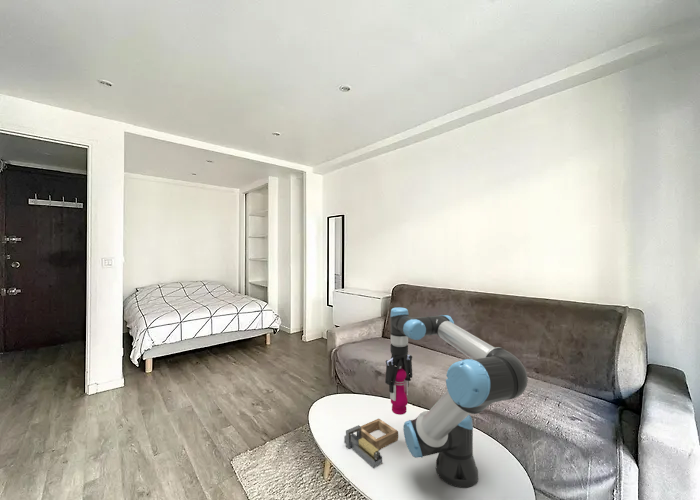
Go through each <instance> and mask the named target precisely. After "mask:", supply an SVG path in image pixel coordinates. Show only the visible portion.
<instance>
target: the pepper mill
mask: <svg viewBox="0 0 700 500" xmlns="http://www.w3.org/2000/svg"><path fill="white" fill-rule="evenodd" d="M405 378H406V372H405V370H404V369H402V368H401V366H400V367H399V369H398V371H397V375H396V380H395V384H394V385H396V401H393V400H392V399H390V404H391V411H392V413H393V414H395V415H397V416H398V415H399V416H400V415H401V416H402V415H405V414H406V413H407V405H408V400H409V399H408V396H406V394H405V391H404V384H405Z"/></svg>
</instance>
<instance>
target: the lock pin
mask: <svg viewBox="0 0 700 500" xmlns="http://www.w3.org/2000/svg"><path fill="white" fill-rule="evenodd" d="M359 447H360V448H361V449H362V450H363V451H365V452H366V453H367V454H368V455H369V456H371V457H372V458H373V459H374V460H375V459H376V460H378V459H379V458H380V455H381V452H380V451H379V450H378V449H377V448H376V447H374V446H373V445H372V444H370V443H369V442H368V441H367V440H365V439H364V438H361V439H359Z"/></svg>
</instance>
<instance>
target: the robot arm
mask: <svg viewBox="0 0 700 500" xmlns="http://www.w3.org/2000/svg"><path fill="white" fill-rule="evenodd" d="M409 315H410V314H409V310H408V309H407V308H405V307H393V308H391V310H390V353H391V357H390V359H389V360H388V359H386V360H385V365H386V367H385V381H384V382H385V384H386V385H388V387H389V389H388V391H389V398H390V400H391V399H392V400H393V401H396V385H394V384H395V380H396V375H397V371H398V369H399V367H400V366H401V368H402V369H404V370H405V372H406V378H405V384H404V391H405V394H406V396H407V397H409V386H410V382H411V380H412V378H413V366H412V365H413V364H412V363H413V362H412V360H413V356H412V355H410V354H409V339H411V340H414V341H420V340H421V339H423V338H424V337H425V336H426V337H427V336H437V337H439V338H440V339H442V340H443V341H445V342H446V343H447V344H449V345H450V346H452V347H453V348H455V349H456V351H459V352H460V353H462V355H464V356H466V357H468V358H469V359H468V358H467V359H465V358H464V359H462V360H459V361H456V362H453V363H452V364H451V365H450V366H449V367H448V369H447V371H446V377H447V378H445V385H446V389H447V390H446V391H445V392H444V394H442V396H441V397H440V398H439V399H438V400H437V401H436V403H434V405H433V406H432V407H431V408H430V409H429V410H425V411H423V412H421V413H420V414H419V415H418V416H417V417H415V418H414V419H409V420H406V421H405V422H403V428H402V429H403V430H402V431H403V437H404V440H405V443H406V447H407V449H408V452H409V453H410V455H412V457H414V458H416V459H418V458H422V459H423V458H424V457H427V456H432V455H436V454H438V455H437V457H436V461H435V472H436V474H437V476H438V477H439V478H440V479H441V480H442V481H443V482H445V483H446V484H448V485H450V486H452V487H457V488H469V487H473V486H475V484H477V482H478V480H479V471H478V467H477V464H476V461H475V458H474V452H473V451H474V450H473V449H474V448H473V444H474V443H473V440H474V439H473V435H474V433H473V431H474V426H473V419H472V416H471V415H478V414H480V413H482V412H484V410H486V409H487V408H489V406H490V405H492V404H494V403H499V402H505V401H508V400H513V399H516V398H519V397H520V396H522V394H523V393H524V392H525V391H526V389H527V387H528V380H529V379H528V373H527V369H526V367H525V366H524V364H523V363H522V361H521V360H520V359H519V358H518V357H517V356H515V354H513V353H511V352H510V351H508V350H506V349H504V348H503V347H499V346H498V347H495V346H493V345H492V344H489V343H488V342H486V341H484V339H483V340H482V339H481V338H479V337H478V336H476V335H473V334H472V333H471V332H468V331H467V330H465V328H464V329H463V328H462V327H460V326H458V325H457V324H455V321H454V320H453V319H452V317H451V315H445V314H444V315H443V314H439V315H430V316H418V317H417V316H416V317H412V316H409Z"/></svg>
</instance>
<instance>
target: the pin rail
mask: <svg viewBox="0 0 700 500" xmlns="http://www.w3.org/2000/svg"><path fill="white" fill-rule="evenodd" d="M361 426H362V425H360V424H358V425H355V426H354V427H351V428H349V429H347V430H345V435H343V437H344V443H345V448H346V449H348V450H350V449H351V450H352V451H354V452H355V453H356V454H357V455H358V456H359V457H361V458H362V459H363V460H364V461H365V462H366V463H367V464H369V465H370V466H371V467H372V468H373V469H374V468H377V467H378V466H380V465H383V456H382V455H381V454H380V458H379V459H378V460H376V459H375V460H374V459H373V458H372V457H371V456H369V455H368V454H367V453H366V452H365V451H363V450H362V449H361V448H360V447H359V439H361V438H362V428H361ZM355 433H356V434H355Z"/></svg>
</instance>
